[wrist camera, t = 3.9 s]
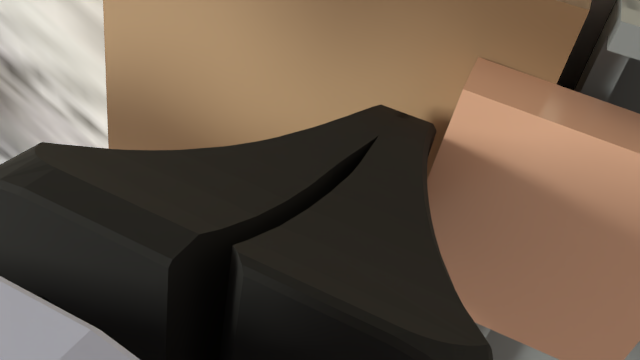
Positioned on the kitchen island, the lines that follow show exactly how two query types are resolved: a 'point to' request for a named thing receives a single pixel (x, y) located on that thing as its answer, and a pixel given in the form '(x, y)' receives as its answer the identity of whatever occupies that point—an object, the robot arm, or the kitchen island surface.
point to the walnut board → (311, 62)
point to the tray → (607, 85)
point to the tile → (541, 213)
